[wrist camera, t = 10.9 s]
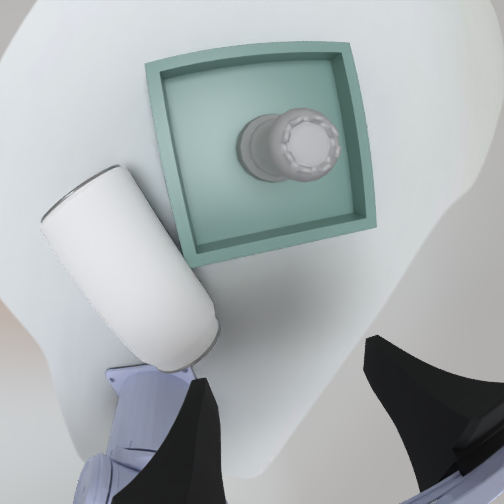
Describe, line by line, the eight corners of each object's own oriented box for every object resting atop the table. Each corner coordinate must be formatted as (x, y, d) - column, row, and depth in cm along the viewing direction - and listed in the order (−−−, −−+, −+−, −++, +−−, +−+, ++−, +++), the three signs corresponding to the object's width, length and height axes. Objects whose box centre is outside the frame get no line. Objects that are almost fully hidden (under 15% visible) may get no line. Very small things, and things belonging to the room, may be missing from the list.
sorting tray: (359, 219, 21) (376, 227, 19) (189, 255, 20) (187, 268, 18) (334, 52, 17) (349, 42, 15) (151, 74, 16) (144, 63, 14)
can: (102, 164, 12) (231, 353, 16) (134, 158, 18) (223, 299, 22) (18, 237, 12) (144, 391, 16) (65, 210, 18) (155, 334, 22)
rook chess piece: (288, 106, 17) (341, 79, 10) (311, 168, 19) (374, 178, 12) (224, 128, 17) (238, 108, 10) (250, 192, 19) (280, 216, 11)
